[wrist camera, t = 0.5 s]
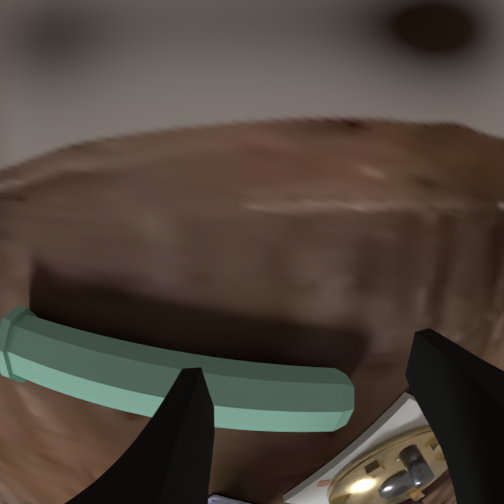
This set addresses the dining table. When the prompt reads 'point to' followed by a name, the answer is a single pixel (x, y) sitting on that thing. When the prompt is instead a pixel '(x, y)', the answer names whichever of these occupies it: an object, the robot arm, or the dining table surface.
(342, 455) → the dial plate
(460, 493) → the robot arm
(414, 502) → the supplement bottle
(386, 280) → the dining table surface
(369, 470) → the brass round disc
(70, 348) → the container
